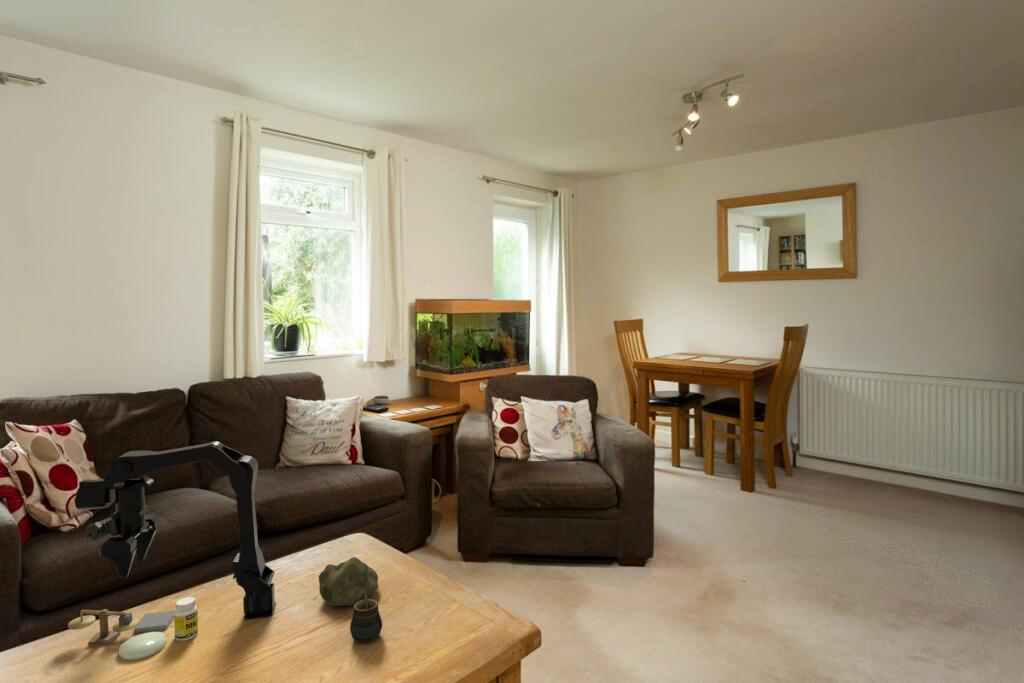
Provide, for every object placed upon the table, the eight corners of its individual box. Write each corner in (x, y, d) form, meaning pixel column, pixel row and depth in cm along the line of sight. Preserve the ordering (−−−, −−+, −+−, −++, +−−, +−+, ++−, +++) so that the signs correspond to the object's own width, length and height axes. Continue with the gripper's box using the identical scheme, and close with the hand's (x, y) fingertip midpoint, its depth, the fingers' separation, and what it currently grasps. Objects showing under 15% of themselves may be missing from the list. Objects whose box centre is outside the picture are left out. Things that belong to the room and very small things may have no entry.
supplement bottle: (187, 642, 129) (186, 607, 129) (169, 640, 130) (168, 605, 130) (202, 631, 134) (201, 596, 134) (185, 629, 135) (184, 594, 134)
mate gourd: (353, 650, 126) (352, 607, 125) (347, 634, 132) (346, 592, 132) (385, 641, 129) (384, 599, 129) (377, 626, 136) (376, 585, 135)
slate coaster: (176, 613, 142) (176, 609, 142) (167, 628, 135) (166, 624, 135) (145, 617, 140) (145, 613, 140) (134, 633, 133) (133, 628, 133)
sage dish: (172, 634, 133) (171, 629, 133) (158, 656, 124) (158, 651, 124) (128, 640, 130) (128, 635, 130) (111, 663, 122) (111, 657, 122)
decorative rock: (387, 605, 149) (390, 569, 148) (327, 619, 140) (330, 581, 139) (368, 578, 161) (371, 544, 160) (311, 589, 152) (314, 554, 151)
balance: (142, 629, 135) (141, 598, 134) (134, 641, 130) (132, 608, 129) (75, 638, 131) (74, 606, 131) (64, 650, 126) (62, 617, 126)
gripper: (110, 495, 141) (112, 556, 142) (70, 522, 123) (73, 591, 124) (159, 492, 144) (161, 551, 144) (128, 517, 126) (130, 585, 126)
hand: (132, 569), depth 135 cm, fingers open, 9 cm apart
